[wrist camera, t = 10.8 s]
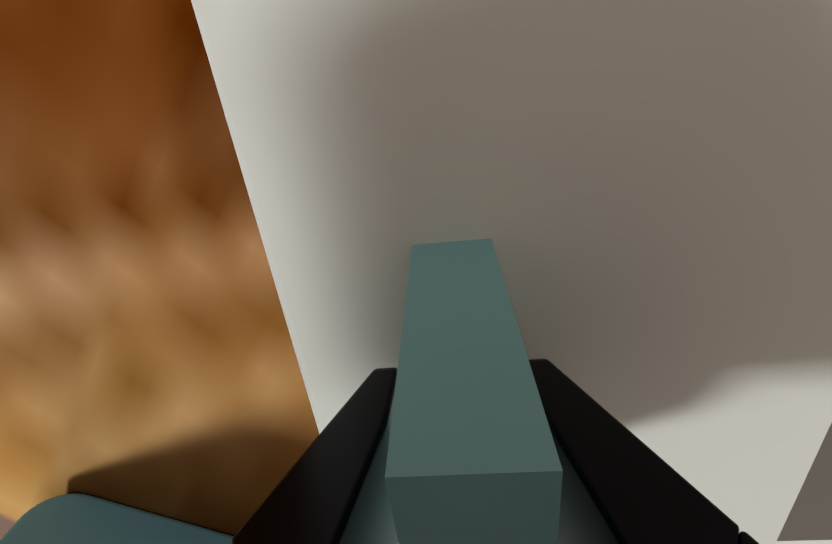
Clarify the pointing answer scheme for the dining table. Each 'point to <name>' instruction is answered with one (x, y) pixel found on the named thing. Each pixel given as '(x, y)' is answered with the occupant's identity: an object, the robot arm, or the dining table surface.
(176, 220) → the dining table surface
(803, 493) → the carton
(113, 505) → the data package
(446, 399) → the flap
